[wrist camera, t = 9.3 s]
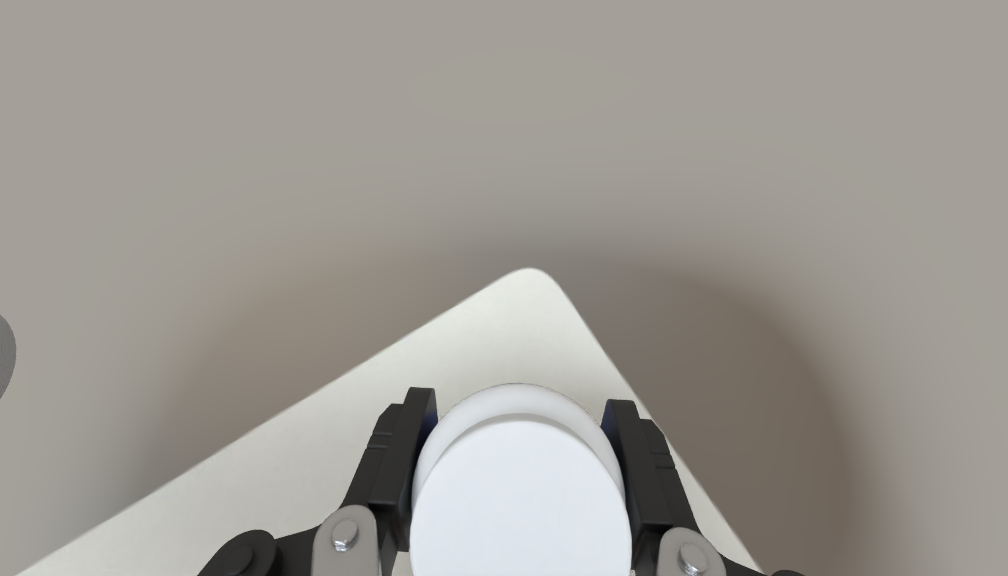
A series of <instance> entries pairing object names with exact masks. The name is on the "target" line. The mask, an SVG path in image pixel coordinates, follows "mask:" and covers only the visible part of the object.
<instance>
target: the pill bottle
mask: <svg viewBox="0 0 1008 576" xmlns="http://www.w3.org/2000/svg"><path fill="white" fill-rule="evenodd" d="M411 508H412V522H411V527H410V560H411V566H412V572H413V576H629V575H630V569H631V557H632V538H631V530H630V525H629V519H628V514H627V511H626V497H625V487H624V482H623V477H622V473H621V469H620V466H619V463H618V460H617V458H616V456H615V453H614V451H613V449H612V447H611V444H610V442H609V440H608V439H607V437H606V435H605V434H604V432H603V430H602V429H601V428H600V426H599V425H598V424H597V423H596V421H595V420H594V419H593V418H592V417H591V416H590V415H589V414H588V413H587V412H586V411H585V410H584V409H583V408H582V407H581V406H579V405H578V404H577V403H575V402H574V401H572V400H571V399H569V398H568V397H566V396H564V395H562V394H560V393H558V392H556V391H554V390H551V389H548V388H545V387H542V386H538V385H533V384H524V383H509V384H502V385H497V386H493V387H490V388H487V389H484V390H481V391H479V392H476V393H474V394H472V395H471V396H469V397H467V398H465V399H464V400H463V401H461V402H460V403H458V404H457V405H456V406H454V407H453V408H452V409H451V410H450V411H449V412H448V413H447V414H446V415H445V416H444V417H443V418H442V419H441V420H440V421H439V423H438V424H437V425H436V426H435V428H434V429H433V431H432V432H431V434H430V435H429V437H428V439H427V440H426V442H425V444H424V446H423V448H422V451H421V453H420V456H419V458H418V461H417V465H416V468H415V473H414V477H413V483H412V494H411Z"/></svg>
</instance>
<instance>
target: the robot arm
mask: <svg viewBox="0 0 1008 576" xmlns="http://www.w3.org/2000/svg"><path fill="white" fill-rule="evenodd" d="M437 424H438V416H437V407H436V397H435V390H434V388H418V387H410V388H409V390H408V392H407V395H406V398H405V400H404V403H403V404H391V405H390V406H389V407H388V408H387V409H386V410H385V411H384V412H383V413H382V414H381V415H380V416H379V418H378V421H377V423H376V425H375V428H374V430H373V434H372V436H371V437H370V440H369V442H368V444H367V449H365V451H364V454H363V456H362V459H361V461H360V463H359V466H358V468H357V470H356V473H355V475H354V477H353V480H352V482H351V485H350V487H349V489H348V492H347V494H346V496H345V498H344V500H343V502H342V504H341V506H340V507H339V508H338V510H337V511H335V512H334V513H332V514H331V515H330V516H329V517H328V518H326V520H325V521H324V522H323V523H322V524H320V525H319V526H317V527H314V528H312V529H309V530H307V531H303V532H299V533H296V534H292V535H289V536H285V537H281V538H278V539H274V538H273V536H272V535H271V534H270V533H269V532H267V531H264V530H251V531H247V532H244V533H242V534H240V535H237V536H236V537H234V538H232V539H231V540H230V541H228V542H227V543H226V544H224V545H223V546H222V547H221V548H220V549H219V550H218V551H217V552H216V553H215V555H214V556H213V557H212V558H211V559H210V561H209V562H208V563H207V564H206V566H205V567H204V568H203V569H202V570H201V572H200V573H199V574H198V575H197V576H392V570H393V566H394V562H395V559H396V555H397V551H401V552H409V548H410V527H411V522H412V508H411V494H412V483H413V477H414V473H415V468H416V465H417V461H418V458H419V456H420V453H421V451H422V448H423V446H424V444H425V442H426V440H427V439H428V437H429V435H430V434H431V432H432V431H433V429H434V428H435V426H436V425H437ZM600 428H601V429H602V430H603V432H604V434H605V435H606V437H607V439H608V440H609V442H610V444H611V447H612V449H613V451H614V453H615V456H616V458H617V460H618V463H619V466H620V469H621V473H622V477H623V482H624V487H625V497H626V511H627V514H628V519H629V525H630V530H631V538H632V557H631V569H630V570H635V574H636V576H767V575H764V574H762V573H759V572H757V571H754V570H752V569H750V568H747V567H745V566H742V565H740V564H738V563H735V562H733V561H731V560H729V559H728V558H726V557H724V556H723V555H722V554H720V553H719V552H718V551H717V550H716V549H715V548H714V546H713V545H712V544H711V543H710V542H709V541H708V540H707V539H706V538H705V537H704V536H703V535H702V533H701V532H700V530H699V528H698V526H697V523H696V521H695V518H694V516H693V513H692V510H691V507H690V505H689V502H688V499H687V497H686V494H685V491H684V488H683V486H682V483H681V480H680V478H679V475H678V472H677V470H676V469H675V464H674V461H673V459H672V456H671V455H670V451H669V448H668V445H667V443H666V440H665V437H664V435H663V433H662V432H661V431H660V430H659V428H658V427H657V426H656V425H655V424H654V422H653V421H652V420H650V419H640V418H639V414H638V411H637V408H636V405H635V403H634V402H633V401H632V400H615V399H608V400H607V403H606V406H605V411H604V415H603V419H602V423H601V427H600ZM772 576H804V575H802V574H800V573H798V572H794V571H790V570H780V571H777V572H775V573H774V574H773V575H772Z"/></svg>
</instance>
